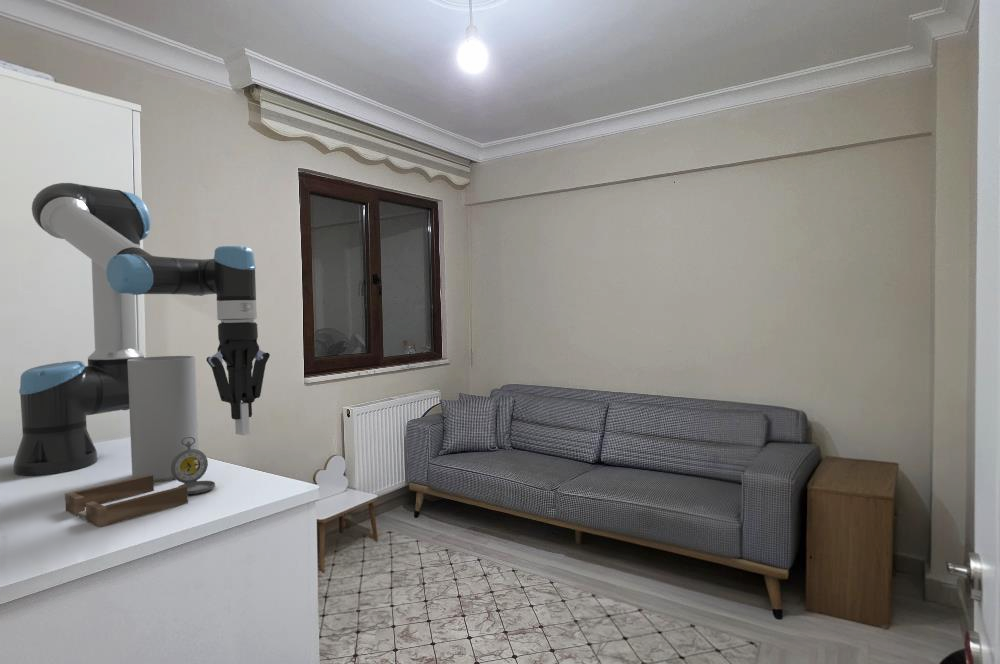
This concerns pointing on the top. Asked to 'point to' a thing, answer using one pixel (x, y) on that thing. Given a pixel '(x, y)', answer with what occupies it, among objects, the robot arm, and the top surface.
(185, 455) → the pocket watch
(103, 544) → the top surface
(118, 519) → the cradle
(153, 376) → the cylinder vase
